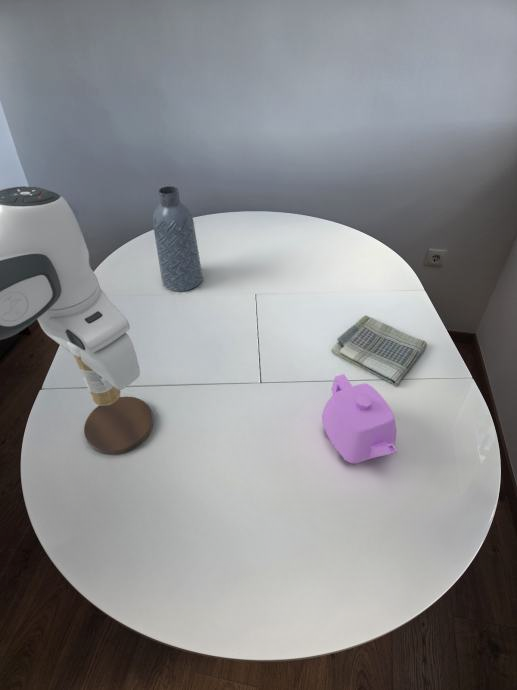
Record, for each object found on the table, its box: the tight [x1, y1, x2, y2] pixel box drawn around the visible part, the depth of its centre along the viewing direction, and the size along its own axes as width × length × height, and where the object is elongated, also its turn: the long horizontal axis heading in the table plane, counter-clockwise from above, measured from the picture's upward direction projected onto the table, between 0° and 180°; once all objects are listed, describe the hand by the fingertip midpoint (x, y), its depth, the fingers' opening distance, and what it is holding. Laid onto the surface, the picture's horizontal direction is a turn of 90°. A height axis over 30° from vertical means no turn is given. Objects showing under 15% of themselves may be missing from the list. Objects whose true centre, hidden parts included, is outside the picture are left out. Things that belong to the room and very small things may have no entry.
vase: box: [152, 185, 203, 292], centre depth 121 cm, size 12×12×28 cm
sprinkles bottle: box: [67, 341, 121, 406], centre depth 66 cm, size 5×5×13 cm
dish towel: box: [330, 315, 428, 386], centre depth 107 cm, size 19×18×3 cm
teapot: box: [321, 373, 398, 464], centre depth 84 cm, size 20×12×13 cm, turn 22°
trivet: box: [83, 396, 154, 456], centre depth 91 cm, size 14×14×2 cm
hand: (98, 375), depth 67 cm, fingers closed on sprinkles bottle, 4 cm apart
